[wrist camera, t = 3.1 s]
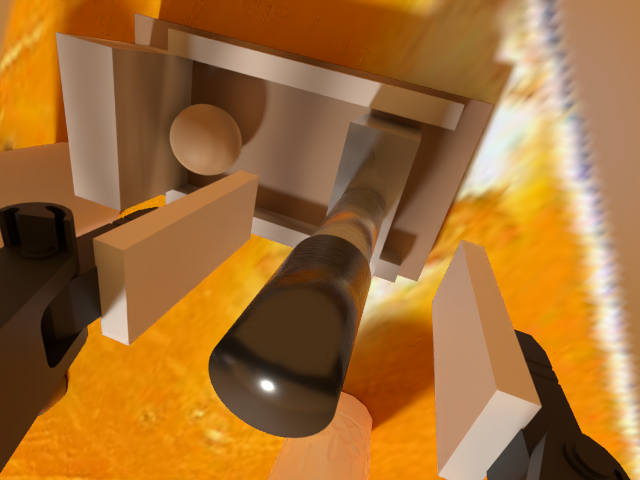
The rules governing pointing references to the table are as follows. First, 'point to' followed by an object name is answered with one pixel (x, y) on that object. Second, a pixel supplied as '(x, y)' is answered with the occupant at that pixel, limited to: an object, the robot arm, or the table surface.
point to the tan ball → (205, 139)
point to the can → (48, 184)
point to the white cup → (330, 448)
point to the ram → (317, 294)
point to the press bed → (255, 130)
